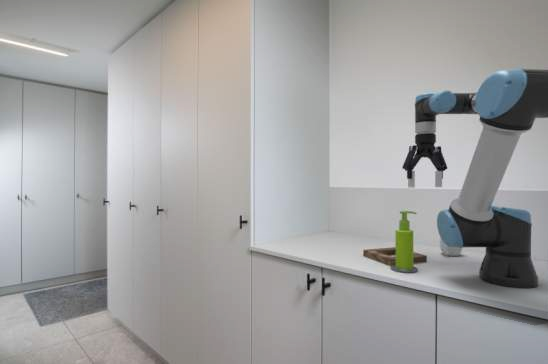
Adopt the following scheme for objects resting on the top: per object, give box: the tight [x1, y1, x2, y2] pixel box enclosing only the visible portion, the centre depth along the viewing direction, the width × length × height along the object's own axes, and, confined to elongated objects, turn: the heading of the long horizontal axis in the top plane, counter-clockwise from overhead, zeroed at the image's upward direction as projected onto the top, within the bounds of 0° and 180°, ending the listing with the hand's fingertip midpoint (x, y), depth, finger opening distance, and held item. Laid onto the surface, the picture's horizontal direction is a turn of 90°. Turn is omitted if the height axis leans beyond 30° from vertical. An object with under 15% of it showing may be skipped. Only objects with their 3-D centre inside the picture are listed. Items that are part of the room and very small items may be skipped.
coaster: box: [390, 265, 419, 274], centre depth 116 cm, size 9×9×1 cm
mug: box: [439, 237, 463, 257], centre depth 137 cm, size 12×8×8 cm
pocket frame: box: [362, 246, 428, 267], centre depth 132 cm, size 17×17×2 cm
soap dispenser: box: [395, 210, 417, 270], centre depth 116 cm, size 6×7×20 cm
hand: (425, 187), depth 130 cm, fingers open, 13 cm apart
